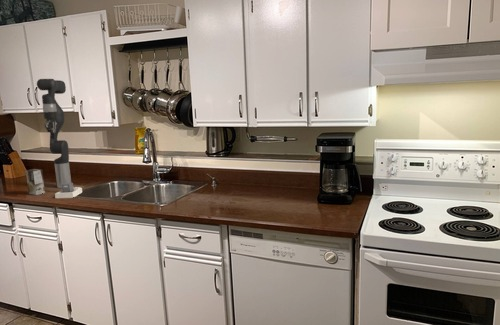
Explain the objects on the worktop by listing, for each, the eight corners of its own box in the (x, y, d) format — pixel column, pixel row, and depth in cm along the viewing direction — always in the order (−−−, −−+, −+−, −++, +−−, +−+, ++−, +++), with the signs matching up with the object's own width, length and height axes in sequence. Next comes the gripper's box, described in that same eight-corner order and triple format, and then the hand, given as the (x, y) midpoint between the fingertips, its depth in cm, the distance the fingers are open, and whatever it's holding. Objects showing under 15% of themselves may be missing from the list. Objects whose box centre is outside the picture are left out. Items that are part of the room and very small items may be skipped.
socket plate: (65, 192, 249) (65, 187, 249) (82, 192, 250) (81, 186, 249) (55, 198, 236) (54, 192, 235) (73, 197, 236) (72, 192, 235)
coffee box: (45, 193, 250) (42, 169, 247) (36, 195, 245) (32, 171, 242) (37, 191, 255) (34, 168, 252) (28, 193, 249) (25, 170, 247)
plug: (66, 193, 244) (65, 182, 243) (74, 193, 244) (72, 182, 243) (62, 195, 239) (61, 184, 238) (70, 195, 239) (69, 184, 238)
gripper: (49, 111, 241) (52, 137, 244) (38, 111, 228) (41, 139, 231) (60, 110, 242) (63, 137, 245) (50, 111, 229) (54, 139, 232)
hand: (53, 138), depth 238 cm, fingers closed
